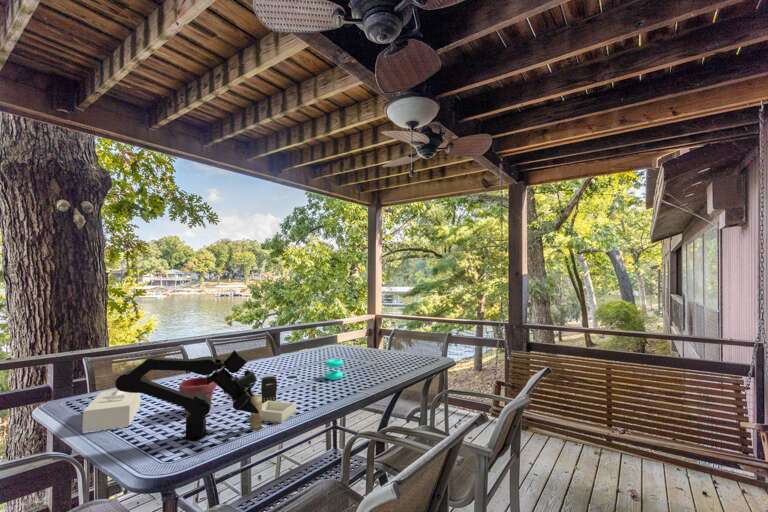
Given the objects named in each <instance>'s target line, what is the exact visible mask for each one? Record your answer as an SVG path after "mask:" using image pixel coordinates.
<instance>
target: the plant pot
mask: <svg viewBox="0 0 768 512" xmlns="http://www.w3.org/2000/svg"><path fill="white" fill-rule="evenodd" d="M206 378H207V376H204V377H203V376H202V377H193V378H190V379H185V380H182V381H181V382H180V383H179V389H178V391H180V392H183V393H186V394H189V395H195V394H196V391H198V392H200V393H202V394H207V397H209V398H210V399H211V400H212V399H213V394H214V391H215V390H216V387H217V385H216V384H215V383H214V382H213V381H212V382H211V383H210V384H209V385H207V379H206ZM184 412H185V414H186V416H187V415H188V411H186V410H185V409H184Z"/></svg>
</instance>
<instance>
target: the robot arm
mask: <svg viewBox="0 0 768 512" xmlns="http://www.w3.org/2000/svg"><path fill="white" fill-rule="evenodd" d="M247 363H248V359H247V358H246V356H245V355H243V354H242V353H240V352H238V351H236V350H234V349H233V351H232V352H231V353H230V354H229V355H228V356H227V357H226V358H225V359H223V358H221V359H220V358H215V357H213V356H209V355H208V356H207V355H206V356H200V357H199V356H198V357H195V358H175V357H174V358H173V357H171V358H170V357H155V356H150V357H148V358H147V359H145V360H144V361H143V362H142V363H140V364H139V365H137V366H136V367H135V368H134V369H129V370H125V372H123V373H122V374H120V376H118V377H117V378H116V379H115V383H114V384H115V389H116V390H117V389H118V390H119V391H123V392H129V393H140V394H144V395H147V396H150V397H153V398H155V399H159V400H161V401H164V402H167V403H169V404H170V403H171V404H173V405H176V406H179V407H182V408H183V409H184V411H185V410H186V411H188V415H187V414H186V416H185V417H186V418H185V435H184V436H182V437H181V440H185V441H193V442H197V441H200V440H201V439H202V438H205V437H206V436H208V435H209V433H210V432H208V431H207V417H206V416H208V415H209V413H210V411H211V408H212V399H210V398H209V397H207V394H202V393H200V392H198V391H196V394H195V395H189V394H186V393H183V392H180V391H179V390H177V389H174V388H172V387H169V386H166V385H164V384H160V383H157V382H155V381H152V380H150V379H149V378H148V377H146V376H145V375H146V374H148V373H149V372H151V371H154V370H155V371H175V372H176V371H177V372H178V371H181V372H189V373H190V372H191V373H193V374H197V375H202V376H206V377H207V378H206V379H207V385H209V384H210V383H211V382H212V381H213V382H214V383H215V384H216V386H218V387H219V388H220V389H221V390H222V391H223V394H227V395H228V396H229V397H231V400H232V409H234V410H235V411H241V412H247V413H250V414H251V413H255V414H258V413H259V410H258V409H257V408H256V407H255V405H254V404H253V403H252V402H251V397H252V396H254V394H253V393H252V387H251V386H252V385H251V384H254V383H256V382H257V376H256V374H255V372H254V371H253V370H252V371H251V370H248V369H247V370H245V371H244V373H243V374H244V375H242V376H241V377H240V378H239V377H238V376H234V375H232V374H237V373H239V371H240V370H241V369H242V368H243V367H244V366H245V365H246V364H247Z"/></svg>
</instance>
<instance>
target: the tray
mask: <svg viewBox="0 0 768 512" xmlns="http://www.w3.org/2000/svg"><path fill="white" fill-rule="evenodd" d="M296 413H297V403H296V402H288V401H277V400H276V401H266V402H264V403H262V422H267V421H270V423H275V422H278V423H277V424H282V423H284V422H285V421H287V420H288V419H290V418H291V417H292V416H294V415H295V414H296Z"/></svg>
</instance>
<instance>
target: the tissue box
mask: <svg viewBox="0 0 768 512" xmlns="http://www.w3.org/2000/svg"><path fill="white" fill-rule="evenodd" d="M139 407H141V393H129V392H123V391H119V390H118V389H117V388H116V390H107V391H100V393H98V395H96V397H94V399H93V400H92V401H91V402H90V403H89V404H88V405H87V406H86V408H85V409H84V410H83V412H82V431H92V430H102V429H113V428H120V427H128V426H129V425H130V423H131V422H133V421H132V420H134V419H135V417H136V415H137V413H138V411H139V409H140V408H139ZM136 412H137V413H136ZM135 414H136V415H135ZM134 416H135V417H134ZM133 418H134V419H133ZM131 424H132V423H131ZM130 426H131V425H130ZM130 426H129V427H130ZM129 427H128V428H129Z"/></svg>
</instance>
